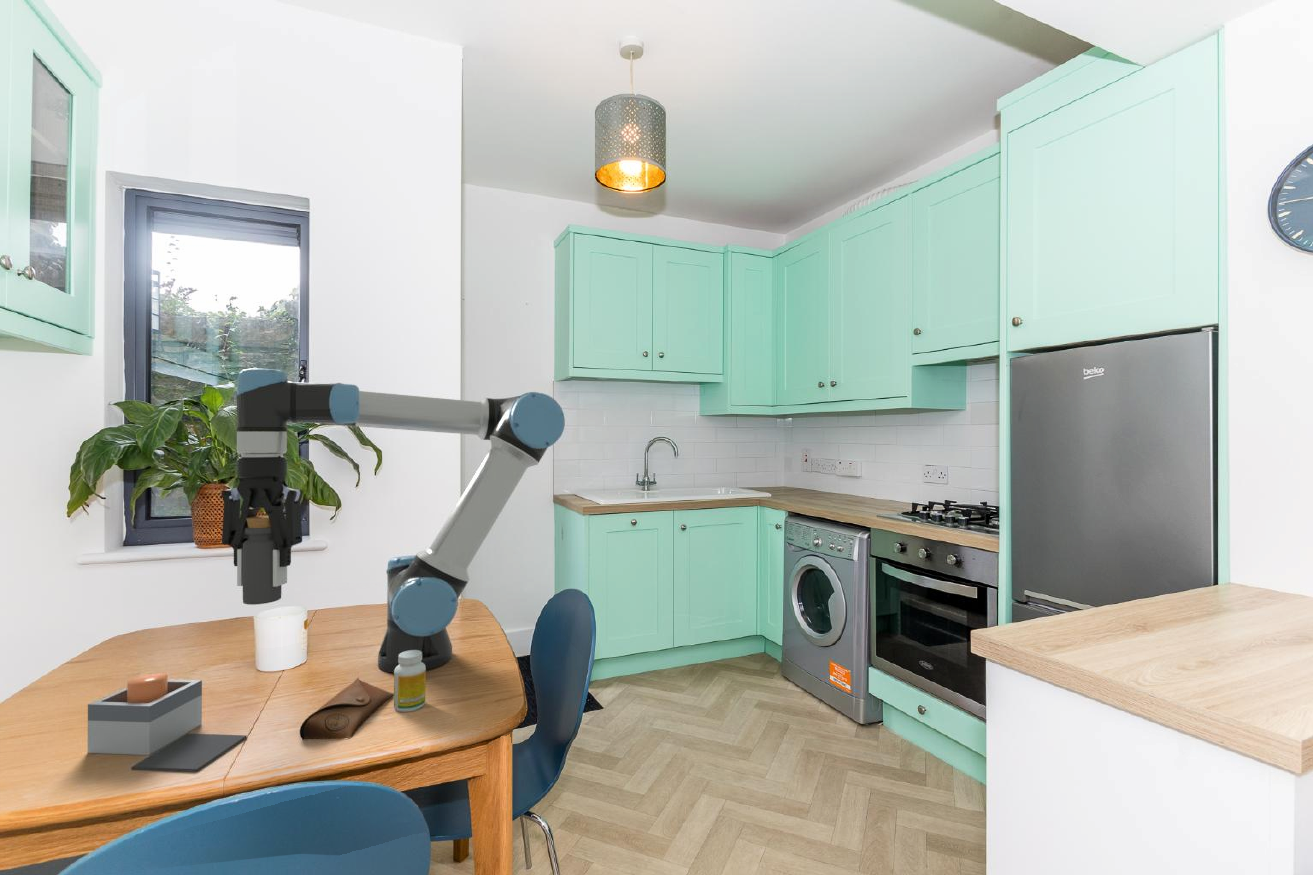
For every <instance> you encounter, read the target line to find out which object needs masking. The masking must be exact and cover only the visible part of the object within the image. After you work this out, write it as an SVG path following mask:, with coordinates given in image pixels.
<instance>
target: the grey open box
mask: <svg viewBox="0 0 1313 875" xmlns="http://www.w3.org/2000/svg"><path fill="white" fill-rule="evenodd" d="M202 696H203V680H202V679H174V678H170V679H169V678H168V679H167V695H165V696H163V697H161V698H159V699H157V700H155V701H153V702H151V703H127V686H126V687H124V688H122V689H119V690H117V691H114V692H113V693H110V694H108V695H106V696H104V697H102V698H101V697H100V698H99V699H97V700H94V701H92V702H90V703H88V704H87V754H106V755H107V754H109V755H110V754H112V755H133V756H134V755H138V756H139V755H140V756H142V755H143V756H151V755H152V754H154V753H156V752H157V751H159V750H161V749H163V748H164V747H166V746H168V745H169V744H171V743H173V742H174V741H176V740H178V739H179V738H181V737H183V736H185V735H186V734H189V733H190V732H191V731H192V730H194V729H196V728H199V726H201V725H202V723H203V721H202V720H203V712H202V710H203V707H202V705H203V697H202Z"/></svg>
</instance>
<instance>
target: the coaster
mask: <svg viewBox="0 0 1313 875" xmlns="http://www.w3.org/2000/svg"><path fill="white" fill-rule="evenodd" d="M247 738H248V736H247V734H246V735H243V734H218V733H217V734H214V733H186V734H184V735H182V736H181V737H179V738H177V739H176V740H174V741H172V742H171V743H169V744H167V745H166V746H164V747H162V748H160V749H159V750H157V751H155V752H154V753H152V754H150V755H148V756H147V757H146V758H144V759H143V760H141V761H139V762H137V763H135V764H134V765H132V766H131V770H132V771H133V770H137V771H158V772H159V771H165V772H190V773H191V772H193V773H196V772H199V771H200V770H202V769H204V768H205V767H207V766H208V765H209V764H210V763H212V762H214V761H215V760H216V759H218V758H220V757H221V756H222V755H224V754H225V753H227V752H228V751H229V750H232V748H234V747H236V746H238V744H240V743H241V742H243V741H245V740H246V739H247Z"/></svg>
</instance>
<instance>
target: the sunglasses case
mask: <svg viewBox="0 0 1313 875" xmlns="http://www.w3.org/2000/svg"><path fill="white" fill-rule="evenodd" d="M392 698H394V692H389V691H387V690H384V689H382V688H380V687H377V686H376V685H373V684H371V683H367V682H366V681H363V680H360V677H357V678H356V679H355V680H354V681H353V682H352V683H351V684H349V685H348V686H346V687H345V688H343V689H342V690H340V691H339V692H338V693H337V694H336V695H334V696H333V697H332V698H330V699H329V700H328V701H327V702H326V703H324V704H323V705H322V706H321V707H320V708H318V709H317V710H316V711H314V712H312V713H311V714H310V715H308V716H307V718H305V720H303V722H302V724H301V726H300V728H299V737H300V739H301V740H302V741H305V740H307V741H309V739H310V740H311V739H317V740H318V739H319V740H345V739H344V738H348V739H351V738H352V737H353V736H354V734H356V732H357V731H358V730H359V728H360V727H361V726H362V725H363V724H364V723H365V722H366V721H368V720H369V719H370V717H372V716H373V715H374V714H375V712H376V711H378V710H379V709H380V708H381V707H382V706H383V705H384V704H386V703H387V702H388V701H389V700H391V699H392ZM350 737H351V738H350ZM342 738H343V739H342ZM304 739H305V740H304ZM348 739H347V740H348ZM311 741H312V740H311Z"/></svg>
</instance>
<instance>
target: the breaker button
mask: <svg viewBox="0 0 1313 875" xmlns="http://www.w3.org/2000/svg"><path fill="white" fill-rule="evenodd" d="M167 679H169V677H168V674H167V673H164V672H163V673H158V672H157V673H150V674H144V675H140V676H137V677H133V678H132V679H130V680H129V681H127V683H126V687H127V703H151V702H153V701H155V700H157V699H159V698H161V697H163V696H165V695H167Z"/></svg>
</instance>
